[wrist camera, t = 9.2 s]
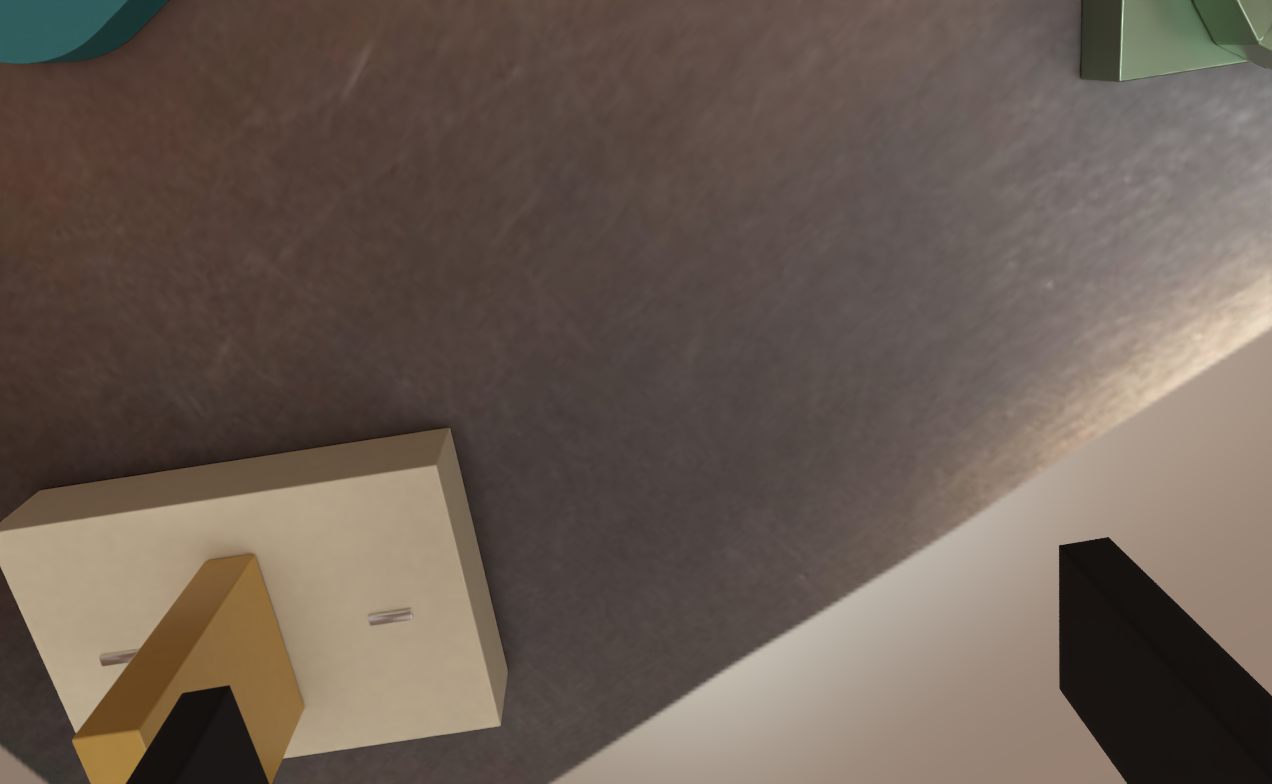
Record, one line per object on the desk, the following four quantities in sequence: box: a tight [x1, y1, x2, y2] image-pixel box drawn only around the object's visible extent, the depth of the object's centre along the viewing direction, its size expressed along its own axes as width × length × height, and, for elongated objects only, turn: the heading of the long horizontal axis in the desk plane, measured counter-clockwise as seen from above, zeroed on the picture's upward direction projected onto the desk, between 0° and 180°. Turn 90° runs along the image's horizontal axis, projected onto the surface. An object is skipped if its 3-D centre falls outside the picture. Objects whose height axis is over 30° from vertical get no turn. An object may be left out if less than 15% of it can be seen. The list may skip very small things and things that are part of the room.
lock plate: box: [0, 428, 508, 759], centre depth 31 cm, size 14×10×3 cm
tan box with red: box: [72, 554, 304, 784], centre depth 26 cm, size 6×2×8 cm, turn 8°
